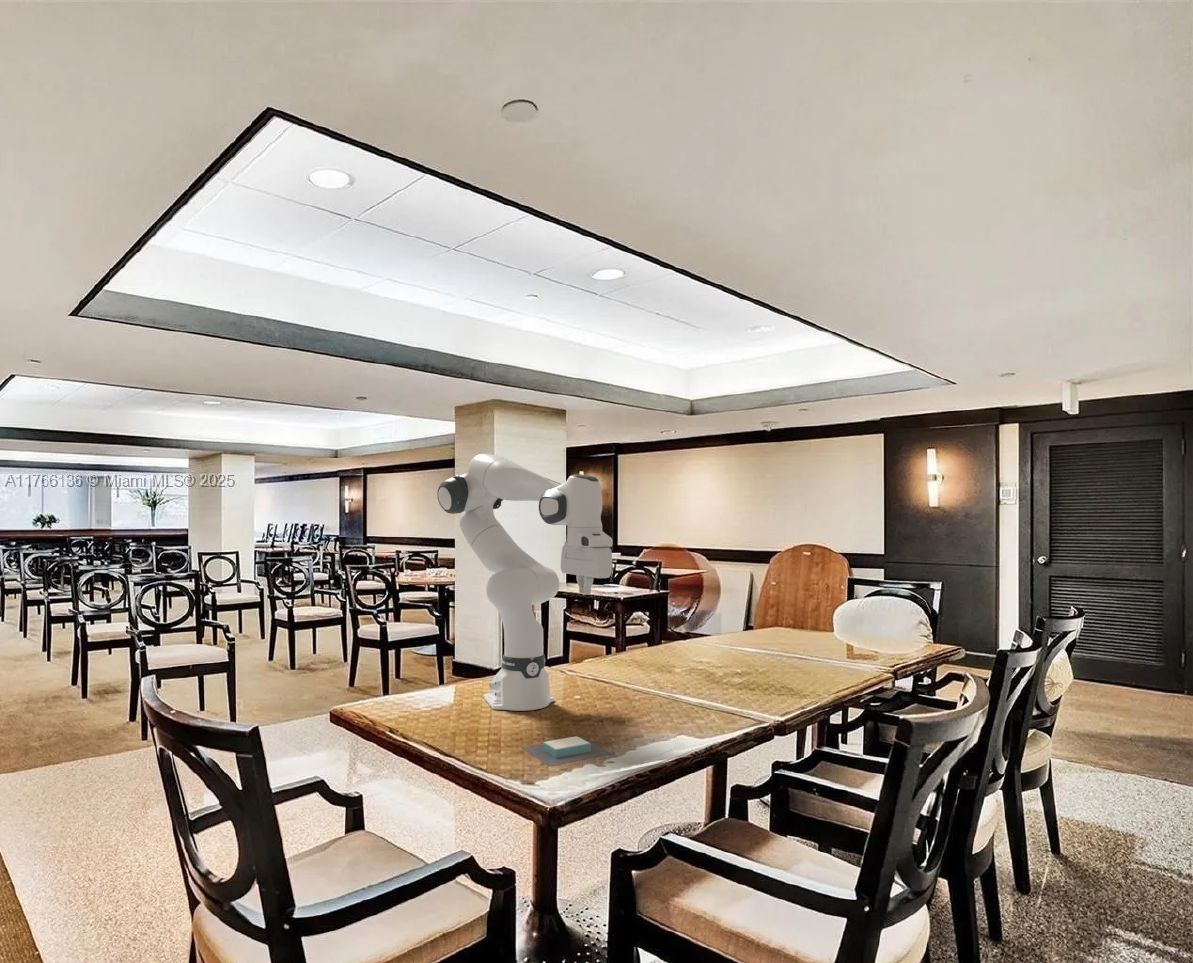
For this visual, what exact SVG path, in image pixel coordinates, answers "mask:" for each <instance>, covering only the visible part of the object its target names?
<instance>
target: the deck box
mask: <svg viewBox="0 0 1193 963" xmlns="http://www.w3.org/2000/svg"><path fill="white" fill-rule="evenodd" d="M581 738H582V737H579V736H576V735H575V736H569V737H564V738H559V739H558V738H557V739H553V740H548V741H543V742H542V745H543V751H545V752H547V753H548V754H550V755H552V756H553V757H555V758H558V757H563V756H569V755H574V754H579V753H585V752H590V751H591V743H589V742H587V741H585V740H583V739H581Z"/></svg>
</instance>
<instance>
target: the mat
mask: <svg viewBox="0 0 1193 963" xmlns="http://www.w3.org/2000/svg"><path fill="white" fill-rule="evenodd" d="M580 738H581V739H583V740H585V741H587V742H589V743H591V751H590V752H585V753H579V754H574V755H569V756H563V757H558V758H555V757H553V756H552V755H550V754H548V753H547V752H545V751H543V744H540V745H533V746H528V747H523V748H522V750H524V751H526V752H527V753H528V754H530V755H531V756H533V757H534V758H536V759H538V760H539V761H541V762H542V763H544V764H546V765H547V766H548V767H552V766H553V767H554V766H558V765H562V764H567V763H575V762H579V761H583V760H589V759H595V758H600V757H605V756H609V755H611V756H612V755H614V753H613V752H612V751H609V750H607V749H605V748H603V747H602V746H599V745H598V744H596V743H594V742H592V741H590V740H588V739H586V738H585V737H580Z"/></svg>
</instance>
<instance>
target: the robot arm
mask: <svg viewBox="0 0 1193 963" xmlns="http://www.w3.org/2000/svg"><path fill="white" fill-rule="evenodd" d="M602 493H603V492H602V486H601V483H600V479H598V478H597V477H596V476H593V475H588V474H581V473H580V474H577V473H576V474H575V473H574V474H571V475H570V476H568V478H567V479H566V481H564V482H563V483H560V482H558V481H555V480H552V479H550V478H547V477H544V476H542V475H540V474H538V473H536V472H534V471H532V470H530V469H527V468H525V467H524V466H522V465H520V464H517V463H516V462H514V461H512V460H509V459H507V458H505V457H502V456H500V455H495V454H490V453H479V454H477V455H475V456H474V457H473V458H472V459H471V460H470V462H469V464H468V468H467V472H466V473H463V474H460V475H459V474H456V475H454V476H451V477H449V478H447V479H445V480H444V481H442V482H441V483H440V485H439V486H438V489H437V493H436V494H437V495H436V496H437V500H438V504H439V505H440V507H441V508H442V510H443V511H444V512H445V513H447V514H461V513H462V514H461V516H460V518H459V522H458V523H459V527H460V530H461V532H462V534H463V536H464V538H465V540H466V541H467V543H468V544H469V546H470V548H471V550H473V552H474V553H475V555H476V556H477V558H478V559H479V560H480V562H481V563H482V564H483V565H484V567H485V568H486V569H487V570H488V571H489V572H492V573H494V574H492V575H491V576H490V577H489V579H488V580H487V583H486V585H485V586H486V587H485V591H486V595H487V596H486V597H487V598H488V601H489V602H490V603H491V605H493V606H494V607H495V609H496V610H497V611H498V613H499V616H500V619H501V621H502V625H503V626H502V628H503V639H504V640H503V642H504V643H503V644H504V646H503V648H504V652H503V653H504V654H502V655H501V656H502V659H501V665H500V666H501V669H500V670H498V672H497V673H496V675H494V677H493V678H492V680H491V681H490V682H489V684H488V685H489V687H488V688H489V690H491V691H490V692H487V693H484V695H483V699H484V700H485V701H486V702H487V704H488V705H489V707H490V708H491V709H493V710H499V711H500V710H506V711H516V712H518V711H523V712H525V711H534V710H539V709H544V708H547V707H548V706H549V705H550V704H551V703H552V702H553V703H554V701H555V697H554V696H551V689H550V688H551V687H550V676H549V675H550V674H549V672H548V671H546V669H545V667H546V657H545V653H544V627H543V625H542V624H541V623H540V622H539V621H538V620H537V619H536V617H535V614H534V611H533V605H541V604H543V603H545V602H547V601H550V600H552V599H553V598H554V597H555V596H556V595H557V594H558V592H559V589H560V579H559V576H558V575H557V573H556V572H555V570H553V569H552V568H550V567H548V566H545V565H543V564H542V563H541V562H539V561H537V560H536V559H535V558H533V557H532V556H531V555H530V554H528V553H527V552H526V551H525V550H523V549H522V548H521V547H520V546H519V545H518V544H517V543H516V542H515V540H513V538H512V537H511V535H509V533H508V532H507V530H506V529H505V528H504V527H503V525H502V524H501V523H500V522H499V520H498V519H497V517H495V515H494V510H498V509H499V508H500V507H501V506H502V503H503V501H511V502H512V501H514V502H516V501H517V502H518V501H519V502H521V501H522V502H523V501H525V502H527V501H529V502H538V512H539V516H540V518H541V519H542V521H543V522H544V523H545V524H548V525H552V526H566V527H567V531H566V532H567V534H566V535H567V537H566V540H565V541H564V545H563V546H562V547H561V553H560V554H561V555H560V571H561V573H562V574H567V575H568V574H569V575H575V576H576V577H575V578H576V582H577V585H578V593H579V594H582V595H591V594H592V586H593V584H594V580H595V579H607V578H608V579H609V578H610V577H611V575H612V570H613V553H612V549H611V547H612V546H613V538H612V537H611V536H610V535H608V534H607V533H605V532H604V531H603V523H602V519H601V518H602V517H601V515H602V512H603V494H602Z"/></svg>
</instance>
